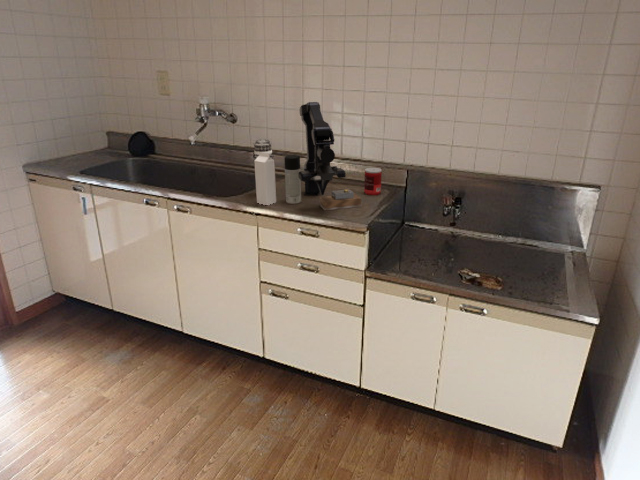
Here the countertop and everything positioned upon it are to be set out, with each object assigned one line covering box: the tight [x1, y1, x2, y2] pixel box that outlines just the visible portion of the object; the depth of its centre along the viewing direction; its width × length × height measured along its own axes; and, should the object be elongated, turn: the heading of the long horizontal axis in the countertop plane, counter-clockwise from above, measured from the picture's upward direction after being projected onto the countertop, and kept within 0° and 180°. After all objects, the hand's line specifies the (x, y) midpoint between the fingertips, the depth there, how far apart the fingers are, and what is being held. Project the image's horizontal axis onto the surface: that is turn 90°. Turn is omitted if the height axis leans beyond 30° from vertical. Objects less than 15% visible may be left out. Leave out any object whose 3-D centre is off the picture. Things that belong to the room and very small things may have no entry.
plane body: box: [318, 193, 363, 211], centre depth 196 cm, size 17×8×4 cm, turn 107°
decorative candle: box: [252, 138, 275, 196], centre depth 208 cm, size 9×9×25 cm
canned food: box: [363, 167, 383, 196], centre depth 211 cm, size 8×8×11 cm
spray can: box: [284, 154, 302, 205], centre depth 199 cm, size 7×7×20 cm
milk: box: [253, 152, 277, 206], centre depth 197 cm, size 6×6×22 cm
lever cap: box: [331, 188, 355, 200], centre depth 195 cm, size 8×5×3 cm, turn 107°
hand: (322, 194), depth 193 cm, fingers closed
